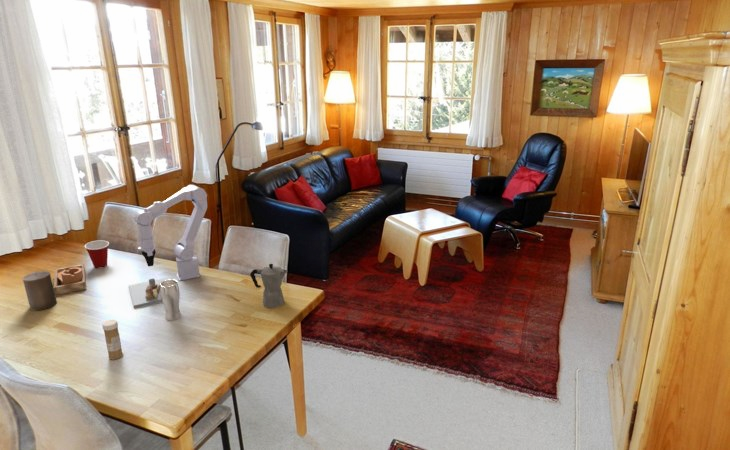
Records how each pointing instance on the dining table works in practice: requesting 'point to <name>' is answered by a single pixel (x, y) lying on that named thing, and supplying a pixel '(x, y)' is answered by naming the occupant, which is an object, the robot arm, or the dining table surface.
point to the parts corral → (71, 286)
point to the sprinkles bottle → (112, 339)
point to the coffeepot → (271, 285)
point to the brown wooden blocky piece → (151, 291)
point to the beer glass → (170, 299)
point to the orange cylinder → (70, 276)
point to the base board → (140, 293)
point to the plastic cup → (98, 252)
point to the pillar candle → (39, 290)
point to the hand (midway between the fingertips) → (150, 265)
